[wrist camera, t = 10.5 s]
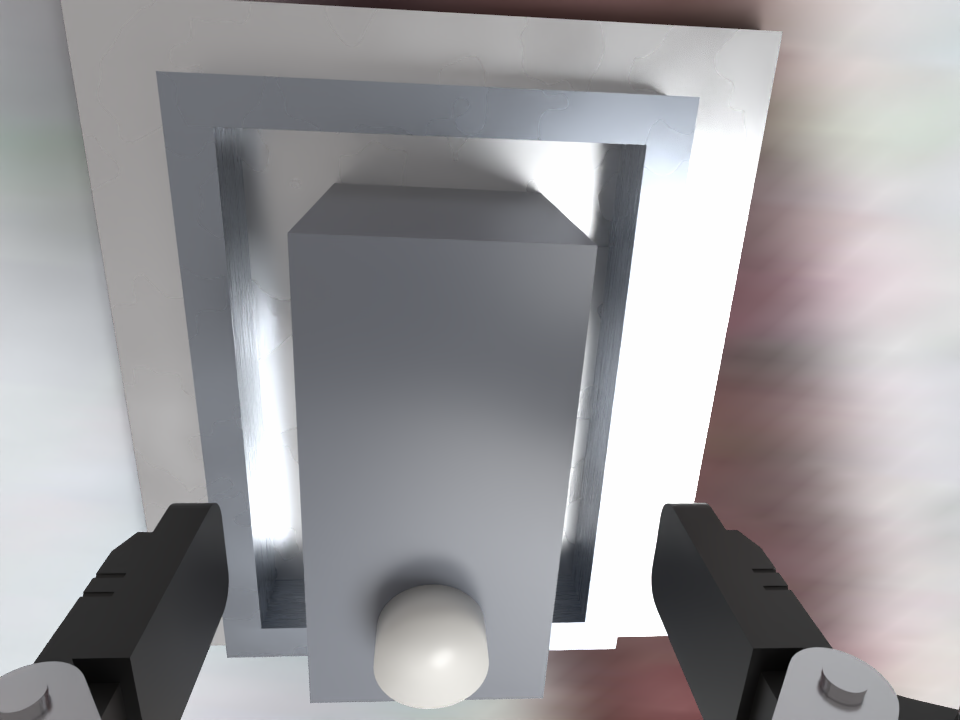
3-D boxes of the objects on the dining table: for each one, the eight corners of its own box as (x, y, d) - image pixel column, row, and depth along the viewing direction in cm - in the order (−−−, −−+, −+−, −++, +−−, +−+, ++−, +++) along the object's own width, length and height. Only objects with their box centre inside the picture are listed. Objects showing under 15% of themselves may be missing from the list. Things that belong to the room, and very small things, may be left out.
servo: (540, 192, 17) (613, 259, 10) (511, 531, 20) (550, 738, 14) (334, 183, 16) (274, 247, 10) (342, 531, 20) (302, 744, 14)
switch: (762, 34, 17) (830, 24, 14) (659, 613, 23) (690, 684, 21) (80, -5, 15) (4, -25, 13) (177, 622, 22) (141, 700, 19)
